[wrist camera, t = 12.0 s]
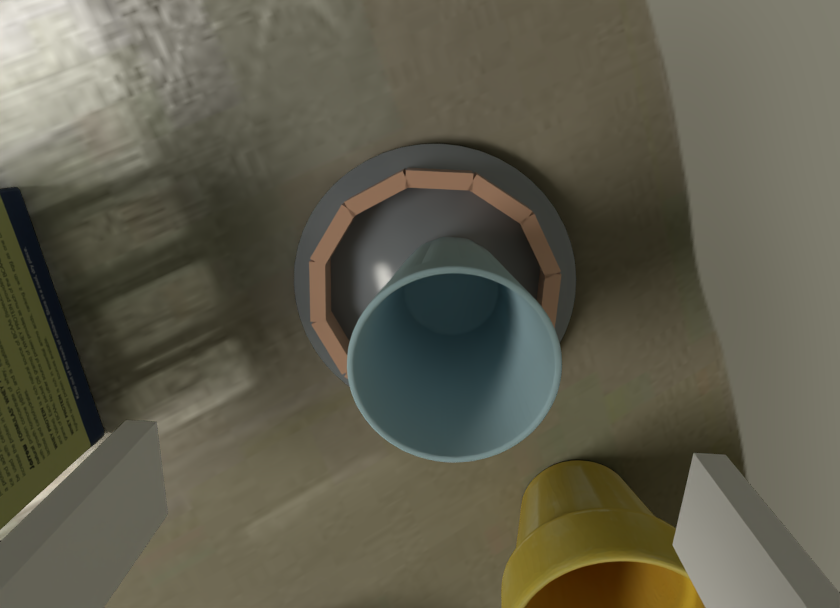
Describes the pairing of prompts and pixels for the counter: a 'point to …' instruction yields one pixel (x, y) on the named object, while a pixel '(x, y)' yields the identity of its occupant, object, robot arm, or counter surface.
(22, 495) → the protein box
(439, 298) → the cup
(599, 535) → the plant pot
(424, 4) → the counter surface
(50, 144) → the counter surface
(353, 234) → the ring dish
